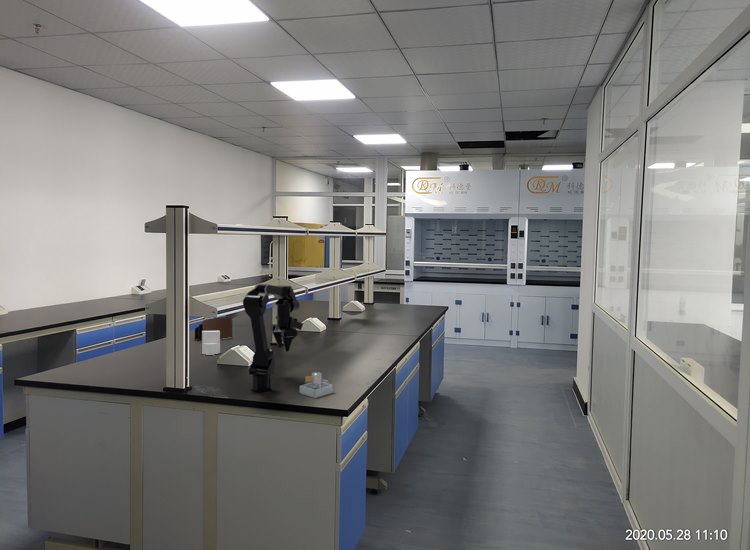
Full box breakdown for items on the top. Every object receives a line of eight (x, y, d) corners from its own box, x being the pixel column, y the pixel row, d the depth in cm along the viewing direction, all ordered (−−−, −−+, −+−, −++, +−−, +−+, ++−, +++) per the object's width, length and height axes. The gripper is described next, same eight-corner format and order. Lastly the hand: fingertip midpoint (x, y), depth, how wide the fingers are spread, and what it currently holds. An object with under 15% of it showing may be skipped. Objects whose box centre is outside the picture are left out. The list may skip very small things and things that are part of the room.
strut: (323, 391, 208) (323, 374, 208) (308, 393, 205) (308, 375, 205) (319, 389, 212) (319, 371, 211) (304, 391, 209) (304, 373, 208)
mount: (316, 387, 217) (316, 381, 217) (304, 384, 222) (304, 378, 222) (328, 383, 223) (328, 378, 222) (317, 380, 227) (317, 375, 227)
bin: (314, 397, 202) (314, 390, 202) (299, 393, 208) (299, 385, 208) (333, 392, 210) (333, 385, 210) (317, 388, 216) (317, 380, 216)
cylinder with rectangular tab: (201, 355, 272) (200, 332, 271) (203, 352, 281) (203, 329, 280) (219, 355, 274) (219, 332, 273) (220, 351, 283) (220, 329, 282)
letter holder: (232, 338, 321) (232, 315, 320) (203, 343, 306) (202, 319, 305) (223, 336, 327) (223, 314, 326) (194, 340, 313) (194, 317, 312)
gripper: (309, 315, 226) (308, 351, 227) (293, 310, 242) (293, 344, 243) (284, 317, 220) (284, 354, 221) (270, 311, 236) (269, 346, 237)
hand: (283, 349), depth 231 cm, fingers open, 9 cm apart
